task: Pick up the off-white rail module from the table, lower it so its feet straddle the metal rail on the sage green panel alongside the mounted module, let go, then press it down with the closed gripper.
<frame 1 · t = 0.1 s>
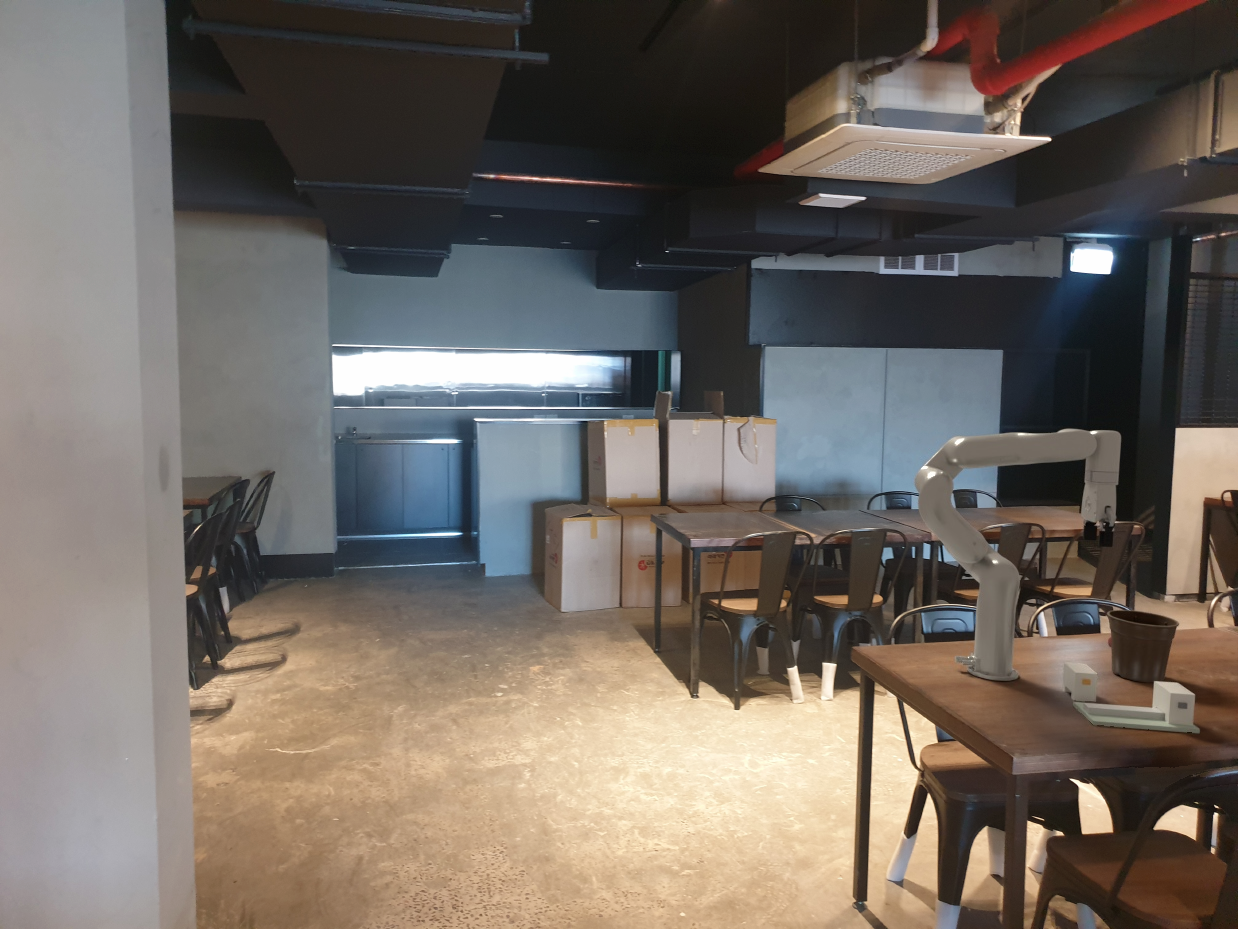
hand: (1097, 543, 216), 37 cm above the table, tool pointing down, fingers open, 9 cm apart
din panel: (1133, 719, 192), on the table
module: (1078, 695, 207), on the table
pliers: (1125, 654, 245), on the table
plant pot: (1138, 676, 223), on the table
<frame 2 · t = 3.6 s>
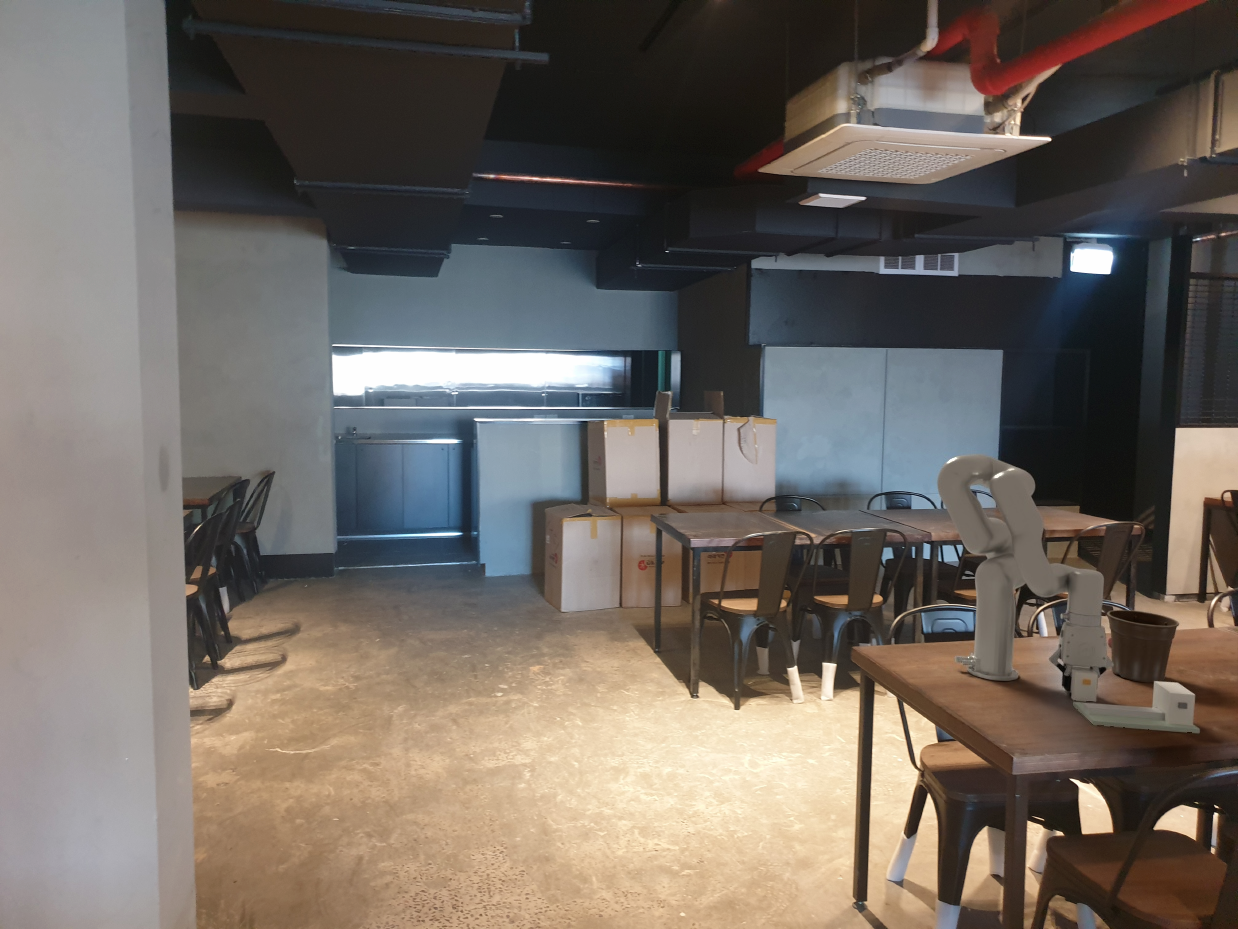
hand: (1079, 690, 207), 1 cm above the table, tool pointing down, fingers closed on module, 5 cm apart
module: (1078, 695, 207), on the table, touching gripper
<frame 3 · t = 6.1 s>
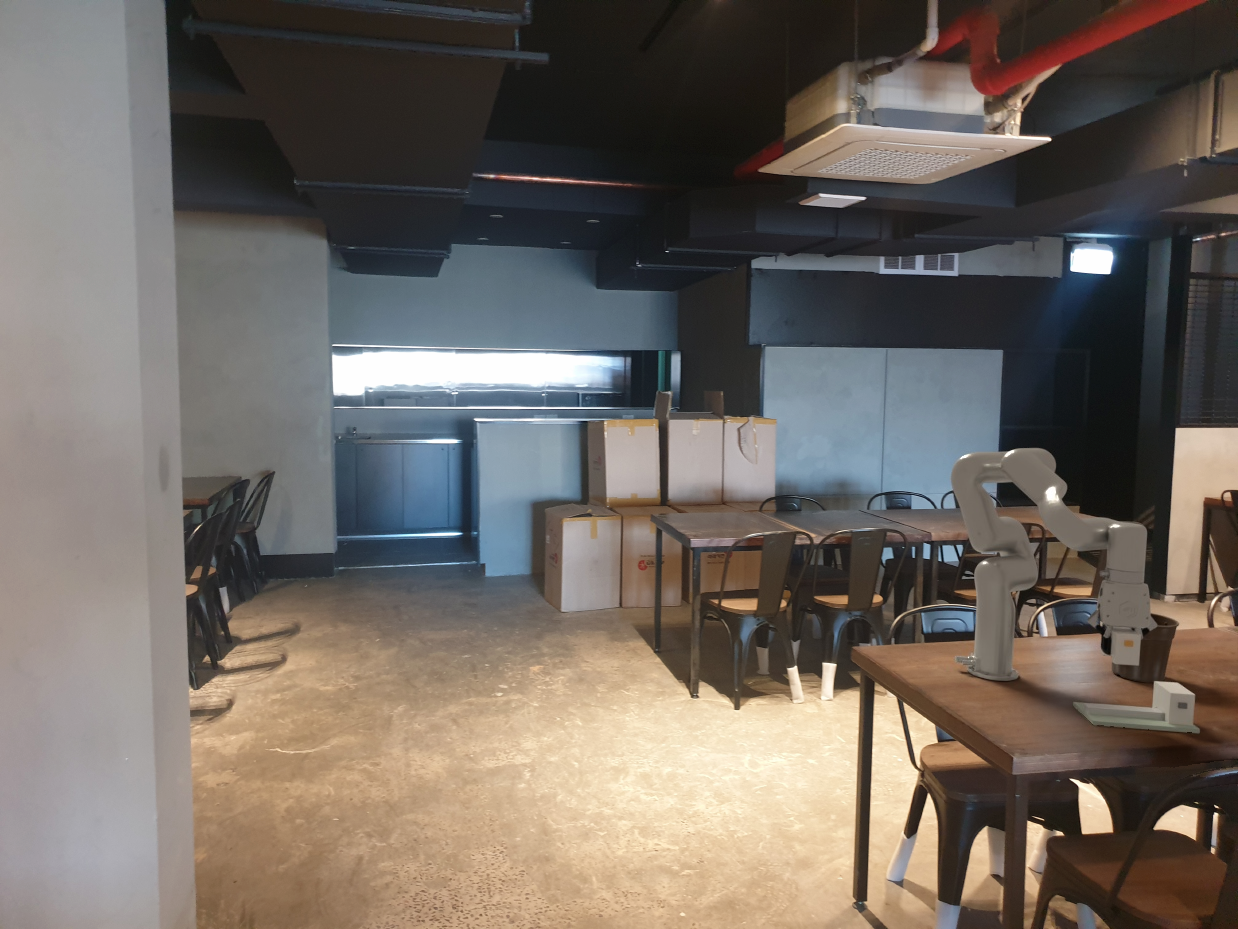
hand: (1119, 653, 192), 15 cm above the table, tool pointing down, fingers closed on module, 5 cm apart
module: (1119, 659, 192), point 14 cm above the table, touching gripper
when the fingers open (3 cm above the table, at t = 9.0 s): module stays where it is, resting on din panel.
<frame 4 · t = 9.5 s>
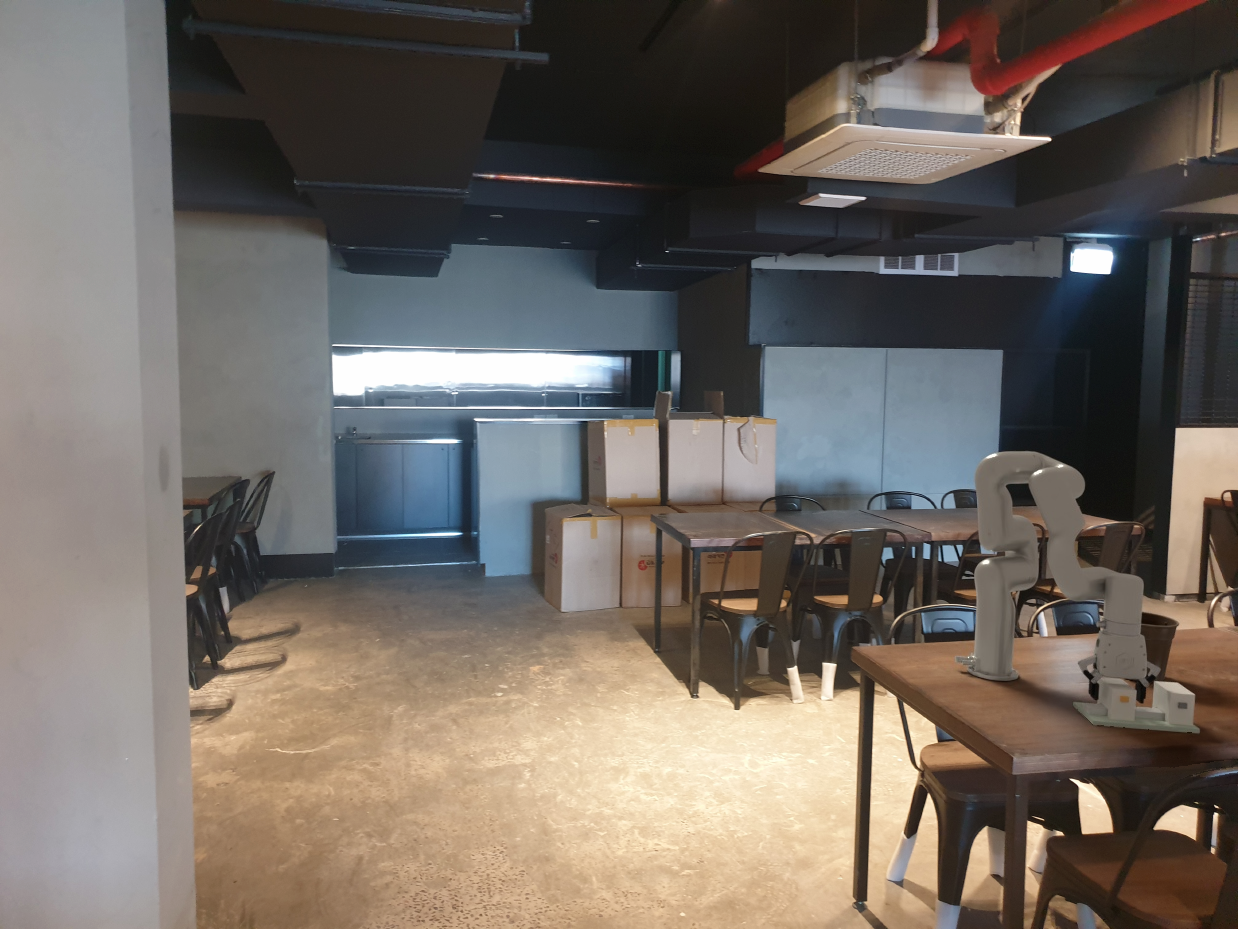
hand: (1116, 699, 192), 4 cm above the table, tool pointing down, fingers open, 9 cm apart
module: (1115, 713, 193), point 1 cm above the table, touching din panel
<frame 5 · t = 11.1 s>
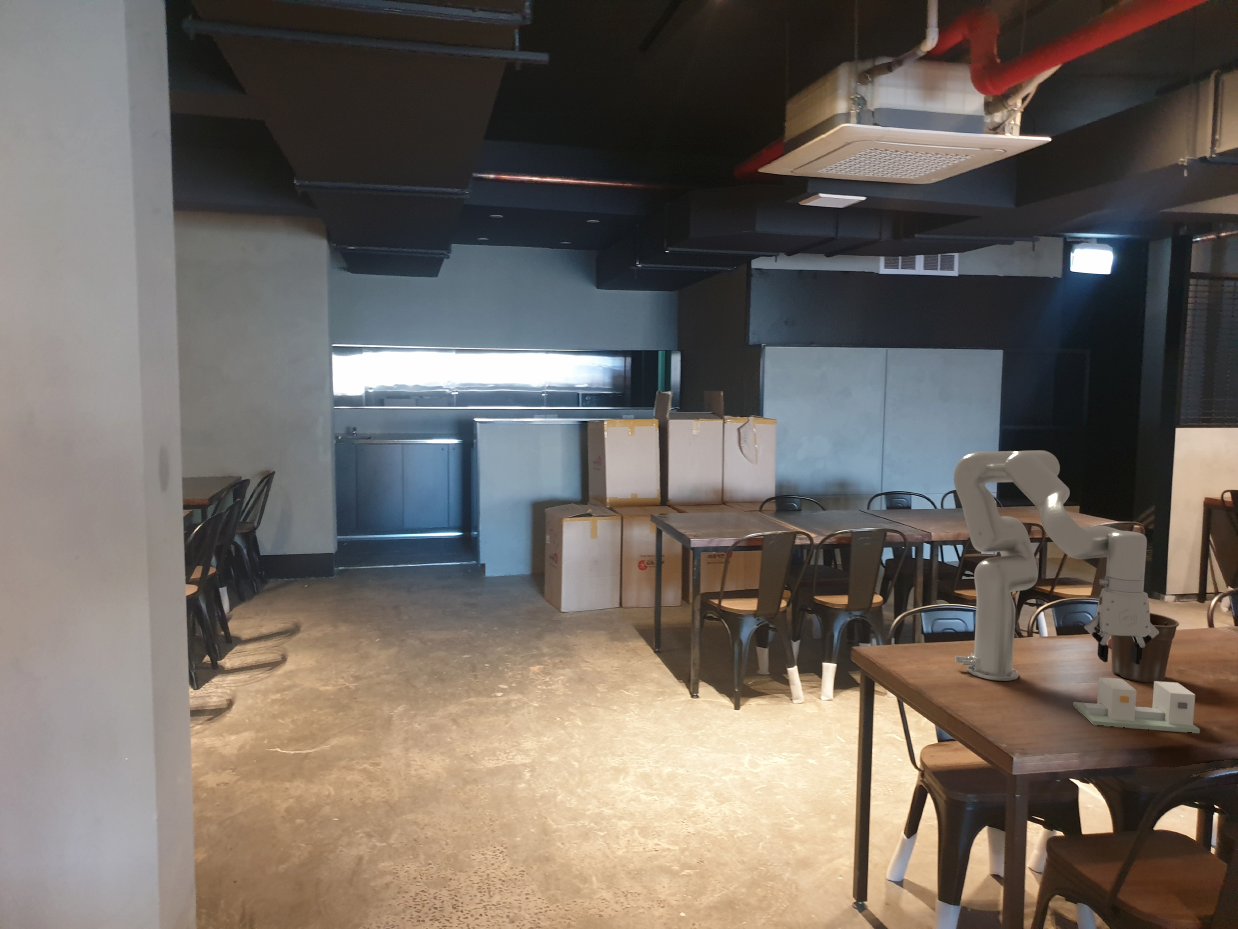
hand: (1119, 660, 192), 14 cm above the table, tool pointing down, fingers open, 6 cm apart
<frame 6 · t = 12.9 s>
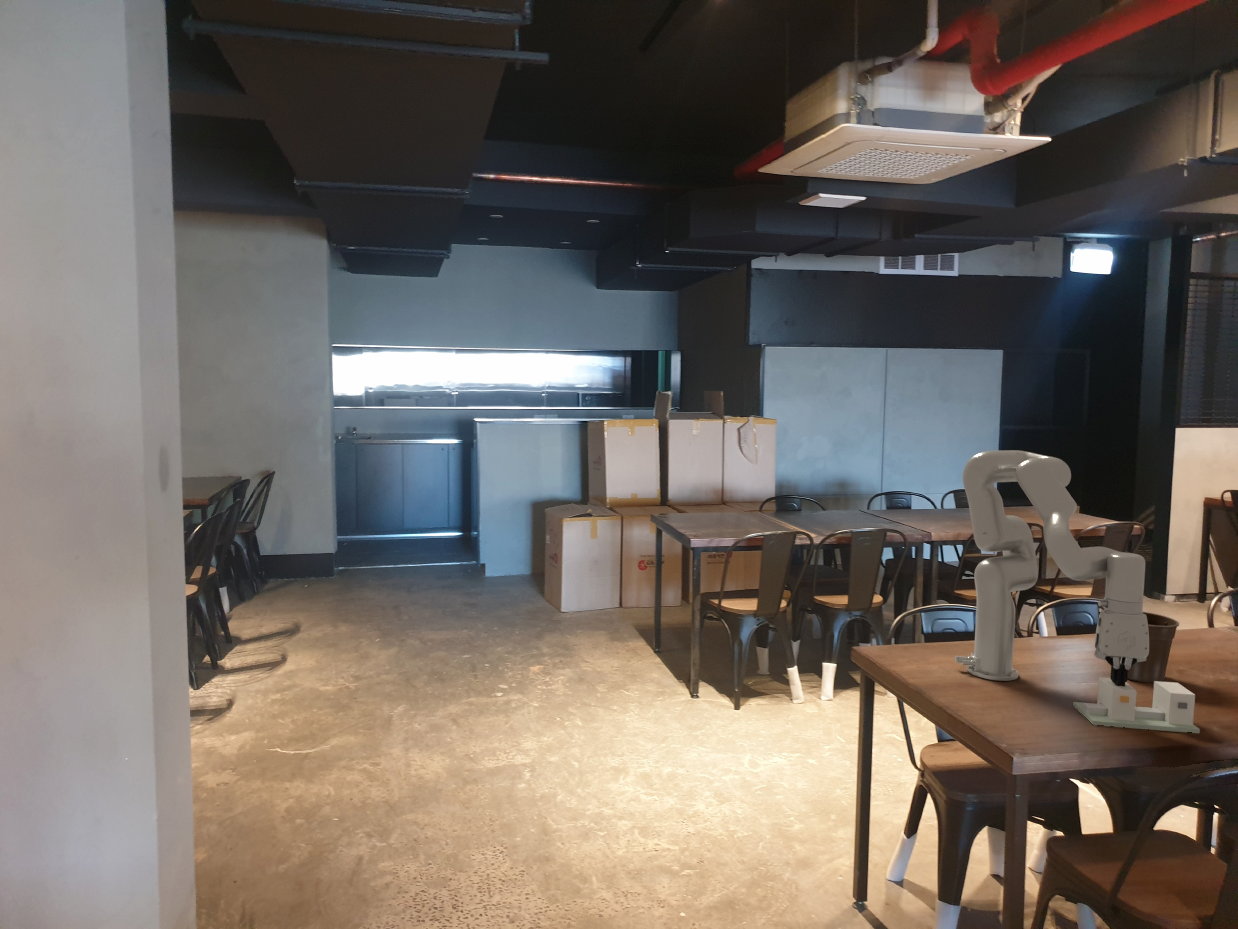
hand: (1118, 684, 192), 8 cm above the table, tool pointing down, fingers closed
module: (1115, 713, 193), point 1 cm above the table, touching din panel, gripper
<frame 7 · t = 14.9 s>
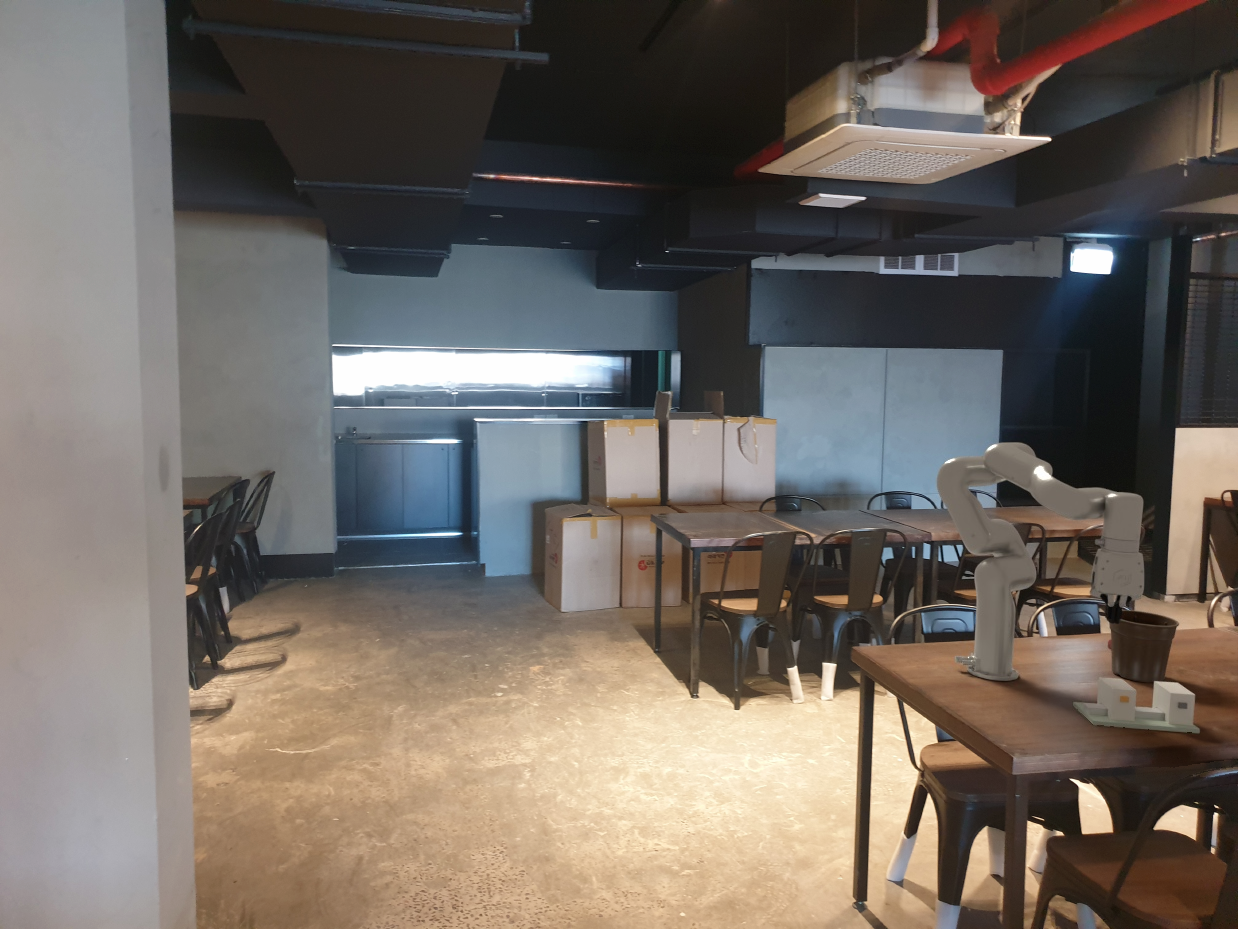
hand: (1112, 622, 195), 22 cm above the table, tool pointing down, fingers closed
module: (1115, 713, 193), point 1 cm above the table, touching din panel
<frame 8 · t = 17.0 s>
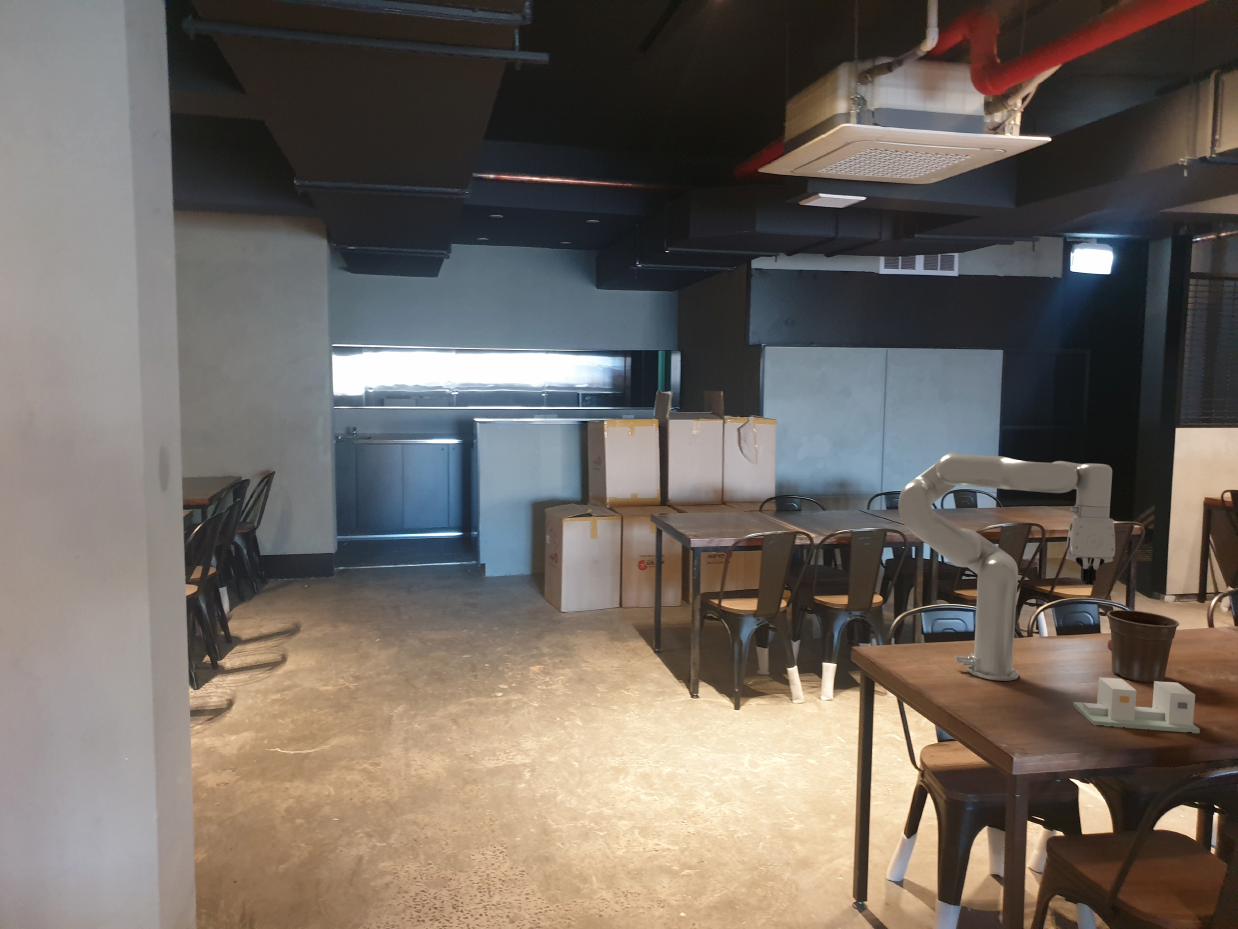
hand: (1087, 583, 211), 27 cm above the table, tool pointing down, fingers closed
at the end: module 0.0 cm from the target spot on the din panel, point 1.0 cm above the din panel's base; module tilted 0°; the gripper is holding nothing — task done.
